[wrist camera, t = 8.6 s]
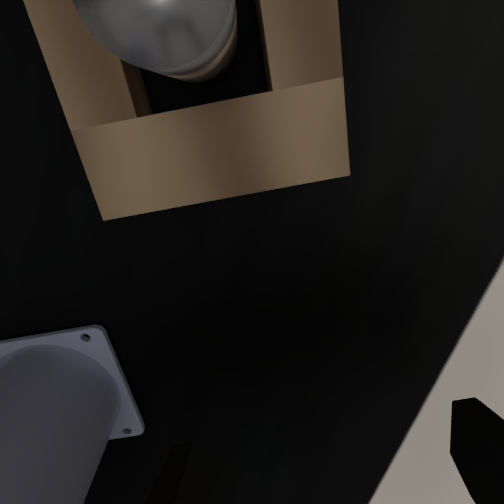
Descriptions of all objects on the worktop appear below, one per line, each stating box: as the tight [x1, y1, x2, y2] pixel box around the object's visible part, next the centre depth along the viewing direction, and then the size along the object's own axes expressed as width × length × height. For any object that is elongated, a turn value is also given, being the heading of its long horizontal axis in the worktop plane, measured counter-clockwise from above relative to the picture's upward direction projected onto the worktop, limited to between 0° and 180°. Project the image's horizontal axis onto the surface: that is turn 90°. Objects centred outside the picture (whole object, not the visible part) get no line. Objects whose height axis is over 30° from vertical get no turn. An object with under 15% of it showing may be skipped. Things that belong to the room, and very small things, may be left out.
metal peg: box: [72, 0, 238, 85], centre depth 10 cm, size 3×3×8 cm
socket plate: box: [23, 0, 350, 221], centre depth 13 cm, size 10×12×2 cm
